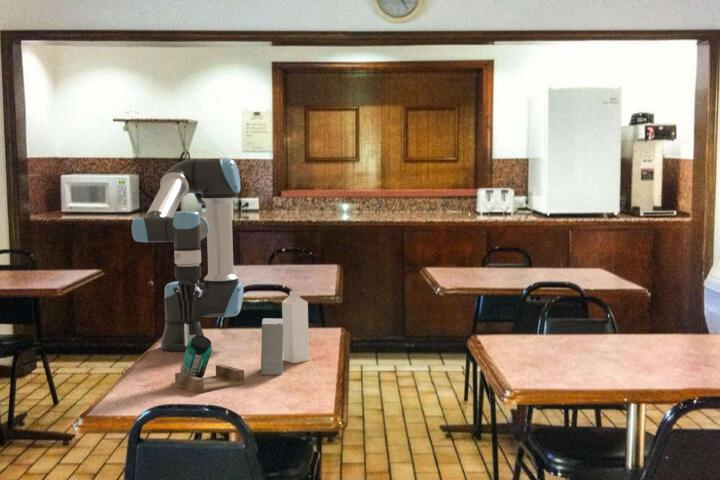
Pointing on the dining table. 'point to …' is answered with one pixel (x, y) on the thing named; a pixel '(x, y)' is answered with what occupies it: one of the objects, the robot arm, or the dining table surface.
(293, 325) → the milk
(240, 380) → the cradle
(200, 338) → the beverage can
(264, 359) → the skincare box
